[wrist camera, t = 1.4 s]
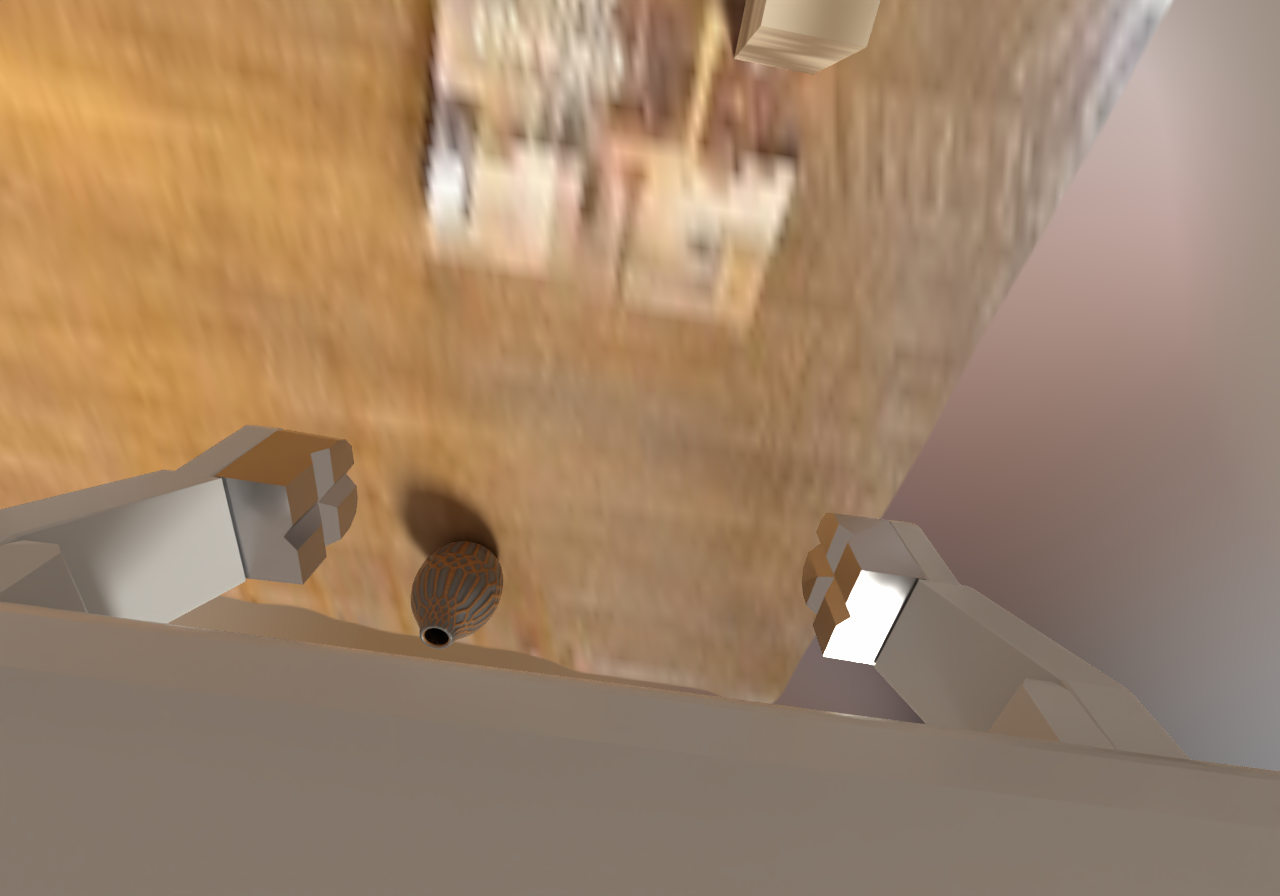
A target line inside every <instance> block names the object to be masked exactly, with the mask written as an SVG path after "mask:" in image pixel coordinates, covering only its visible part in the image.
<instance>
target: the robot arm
mask: <svg viewBox="0 0 1280 896" xmlns="http://www.w3.org/2000/svg"><path fill="white" fill-rule="evenodd" d="M353 464H354V460H353V453H352V446H351V445H350V444H349V443H348V442H347V441H346V440H345V439H339V438H333V437H327V436H321V435H315V434H309V433H303V432H297V431H291V430H284V429H281V428H274V427H267V426H259V425H246V426H244V427H243V428H241V429H239V430H238V431H236V432H235V433H233V434H232V435H230V436H229V437H227V438H225V439H224V440H222V441H221V442H219V443H218V444H216V445H215V446H213V447H211V448H210V449H208V450H207V451H205V452H204V453H202V454H201V455H199V456H197V457H196V458H194V459H193V460H191V461H190V462H188V463H186V464H185V465H183V466H182V467H180V468H179V469H177V470H176V471H170V470H160V471H156V472H152V473H148V474H144V475H140V476H136V477H132V478H128V479H124V480H120V481H115V482H111V483H107V484H103V485H99V486H95V487H91V488H87V489H83V490H79V491H75V492H71V493H66V494H62V495H58V496H54V497H50V498H46V499H42V500H38V501H34V502H30V503H26V504H22V505H17V506H13V507H9V508H5V509H1V510H0V896H1280V771H1273V770H1265V769H1258V768H1250V767H1243V766H1235V765H1227V764H1220V763H1212V762H1205V761H1197V760H1190V759H1189V758H1188V756H1187V755H1186V754H1185V753H1184V752H1183V751H1182V750H1181V748H1180V747H1179V746H1178V745H1177V744H1176V743H1175V742H1174V741H1173V740H1172V738H1171V737H1170V736H1169V735H1168V734H1167V733H1166V731H1165V730H1164V729H1163V728H1162V727H1161V726H1160V724H1159V723H1158V722H1157V721H1156V720H1155V719H1154V718H1153V717H1152V716H1151V714H1150V713H1149V712H1148V711H1147V710H1146V709H1145V708H1144V706H1143V705H1142V704H1141V703H1140V702H1139V701H1138V699H1137V698H1136V697H1135V696H1134V695H1133V694H1132V693H1131V691H1129V690H1128V689H1126V688H1125V687H1123V686H1122V685H1120V684H1119V683H1117V682H1116V681H1114V680H1113V679H1111V678H1109V677H1108V676H1106V675H1105V674H1103V673H1102V672H1100V671H1099V670H1097V669H1096V668H1094V667H1093V666H1091V665H1089V664H1088V663H1086V662H1085V661H1083V660H1082V659H1080V658H1079V657H1077V656H1076V655H1074V654H1073V653H1071V652H1069V651H1068V650H1066V649H1065V648H1063V647H1062V646H1060V645H1059V644H1057V643H1056V642H1054V641H1053V640H1051V639H1050V638H1048V637H1046V636H1045V635H1043V634H1042V633H1040V632H1039V631H1037V630H1036V629H1034V628H1033V627H1031V626H1029V625H1028V624H1026V623H1025V622H1023V621H1022V620H1020V619H1019V618H1017V617H1016V616H1014V615H1013V614H1011V613H1009V612H1008V611H1006V610H1005V609H1003V608H1002V607H1000V606H999V605H997V604H996V603H994V602H993V601H991V600H990V599H988V598H987V597H985V596H983V595H982V594H980V593H978V592H977V591H976V590H974V589H973V588H971V587H968V586H963V585H960V584H959V583H958V581H957V580H956V578H955V577H954V575H953V574H952V573H951V571H950V570H949V568H948V567H947V565H946V564H945V563H944V561H943V560H942V558H941V557H940V555H939V554H938V553H937V551H936V550H935V548H934V547H933V546H932V544H931V543H930V541H929V540H928V539H927V537H926V536H925V534H924V533H923V531H922V530H921V529H920V527H919V526H917V525H915V524H913V523H910V522H900V521H892V520H883V519H875V518H867V517H858V516H850V515H842V514H834V513H826V514H825V515H824V517H823V518H822V519H821V521H820V524H819V526H818V529H817V531H816V532H817V535H818V537H819V540H820V542H821V544H819V545H818V546H817V547H815V548H814V549H812V550H811V551H810V552H808V555H807V558H806V561H805V564H804V567H803V576H802V589H803V596H804V599H805V602H806V605H807V606H808V607H809V608H810V609H811V610H812V611H813V612H814V613H816V614H817V616H816V618H815V621H814V623H813V627H814V630H815V633H816V636H817V639H818V642H819V645H820V647H821V650H822V654H823V656H826V657H832V658H838V659H844V660H850V661H856V662H862V663H868V664H874V668H875V669H876V670H877V671H878V672H879V673H880V674H881V675H882V676H883V677H884V679H885V680H886V681H887V682H888V683H889V684H890V685H891V686H892V687H893V688H894V689H895V691H896V692H897V693H898V694H899V695H900V696H901V697H902V698H903V699H904V700H905V701H906V703H907V704H908V705H909V706H910V707H911V708H912V709H913V710H914V711H915V712H916V713H917V715H919V717H920V718H921V719H922V720H923V721H924V722H925V723H926V724H927V725H926V724H917V723H910V722H902V721H895V720H888V719H879V718H872V717H865V716H857V715H850V714H842V713H835V712H828V711H820V710H813V709H805V708H797V707H790V706H783V705H775V704H768V703H760V702H753V701H745V700H738V699H730V698H723V697H715V696H708V695H701V694H693V693H685V692H678V691H670V690H663V689H655V688H648V687H641V686H633V685H625V684H617V683H610V682H603V681H595V680H587V679H580V678H572V677H565V676H556V675H549V674H542V673H533V672H526V671H519V670H511V669H503V668H496V667H488V666H480V665H473V664H466V663H458V662H451V661H443V660H436V659H428V658H421V657H413V656H406V655H397V654H391V653H383V652H375V651H368V650H361V649H352V648H346V647H338V646H330V645H323V644H316V643H308V642H301V641H292V640H286V639H277V638H270V637H263V636H256V635H248V634H241V633H233V632H226V631H218V630H211V629H203V628H196V627H188V626H180V625H173V624H167V623H168V622H170V621H172V620H174V619H176V618H178V617H180V616H182V615H183V614H185V613H187V612H189V611H191V610H192V609H195V608H196V607H198V606H200V605H202V604H204V603H206V602H208V601H209V600H211V599H213V598H215V597H217V596H219V595H221V594H223V593H225V592H226V591H228V590H230V589H232V588H234V587H236V586H238V585H239V584H241V583H243V582H245V581H246V578H248V579H257V580H267V581H276V582H285V583H294V584H304V583H305V582H306V580H307V579H308V578H309V577H310V576H311V574H312V573H313V572H314V571H315V570H316V569H317V567H318V566H319V565H320V564H321V563H322V561H323V560H324V559H325V558H326V550H325V546H327V545H329V544H331V543H333V542H336V541H338V540H340V539H342V537H343V536H344V535H345V533H346V532H347V531H348V530H349V528H350V526H351V524H352V521H353V519H354V516H355V514H356V508H357V499H358V498H357V487H356V485H355V484H354V483H353V481H352V480H351V479H350V478H349V477H348V475H347V474H346V473H347V472H348V470H349V469H350V468H351V467H352V465H353Z"/></svg>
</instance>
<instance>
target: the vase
mask: <svg viewBox="0 0 1280 896" xmlns="http://www.w3.org/2000/svg"><path fill="white" fill-rule="evenodd" d="M502 589H503V574H502V569H501V566H500V563H499V561H498V560H497V558H496V557H495V555H494V554H493V553H492V552H491V551H490V550H489V549H487V548H486V547H484V546H482V545H480V544H478V543H474V542H470V541H458V542H452V543H449V544H446V545H444V546H443V547H441V548H439V549H438V550H436V551H435V552H434V553H432V554H431V555H430V556H429V557H428V558H427V559H426V560H425V562H424V563H423V565H422V566H421V568H420V569H419V571H418V573H417V575H416V577H415V579H414V582H413V586H412V592H411V607H412V611H413V614H414V617H415V619H416V621H417V623H418V625H419V628H420V638H421V640H422V641H423V642H424V643H425V644H426V645H428V646H429V647H432V648H436V649H443V648H446V647H448V646H450V645H451V644H452V643H453V642H454V641H456V640H458V639H461V638H463V637H466V636H468V635H470V634H472V633H474V632H476V631H477V630H479V629H480V628H481V627H482V626H483V625H484V624H485V623H486V622H487V621H488V620H489V619H490V617H491V616H492V615H493V613H494V611H495V610H496V608H497V606H498V603H499V601H500V597H501V594H502Z"/></svg>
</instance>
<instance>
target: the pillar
mask: <svg viewBox="0 0 1280 896" xmlns="http://www.w3.org/2000/svg"><path fill="white" fill-rule="evenodd" d="M879 3H880V0H746V3H745V8H744V13H743V18H742V23H741V28H740V32H739V37H738V42H737V47H736V52H735V57H734V59H738V60H743V61H748V62H753V63H758V64H763V65H768V66H773V67H778V68H783V69H788V70H793V71H798V72H803V73H807V74H812V75H813V74H815V73H817V72H819V71H821V70H823V69H825V68H826V67H828V66H830V65H832V64H834V63H836V62H838V61H840V60H842V59H844V58H846V57H848V56H850V55H852V54H854V53H856V52H858V51H860V50H862V49H864V48H866V47H867V44H868V41H869V37H870V34H871V30H872V27H873V24H874V20H875V17H876V14H877V10H878V7H879Z"/></svg>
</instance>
